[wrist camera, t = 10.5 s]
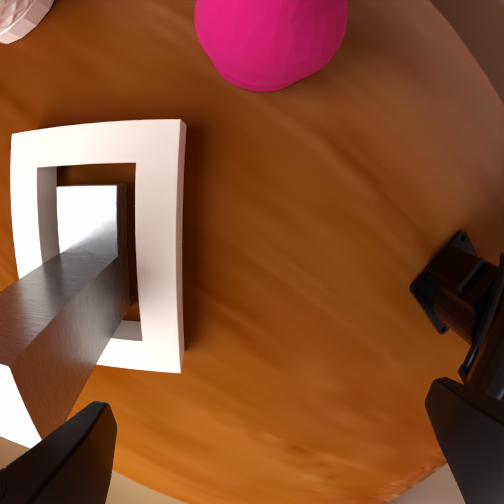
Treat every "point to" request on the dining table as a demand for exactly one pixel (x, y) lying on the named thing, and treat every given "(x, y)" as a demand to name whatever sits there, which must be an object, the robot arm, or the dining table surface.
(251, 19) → the pepper mill
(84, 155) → the block
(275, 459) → the dining table surface
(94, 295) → the grey block
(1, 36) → the white cup
